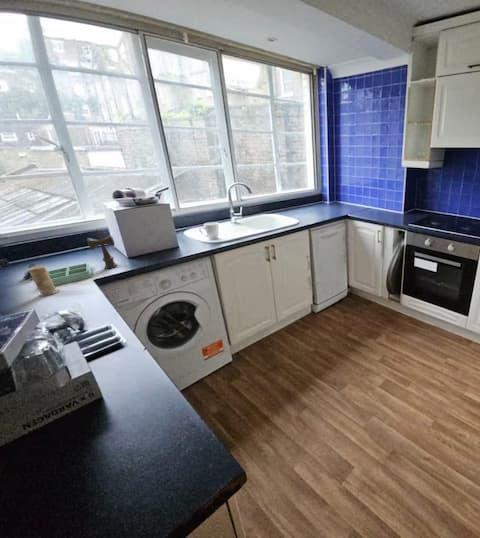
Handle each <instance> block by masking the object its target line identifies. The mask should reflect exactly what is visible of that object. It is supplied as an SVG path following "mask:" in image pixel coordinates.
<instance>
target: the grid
mask: <svg viewBox="0 0 480 538" xmlns="http://www.w3.org/2000/svg"><path fill="white" fill-rule="evenodd" d="M91 269H92V268H91V265H90V263H89V262H84V263H80V264H75V265H70V266H65V267H60V268H55V269H50V270H47V272H48V274H49V276H50V278H51V280H52V282H53V284H54V286H55V287H56V286H59V285H63V284H68V283H71V282H76V281H79V280H84V279H89V278H91V277H92V270H91Z"/></svg>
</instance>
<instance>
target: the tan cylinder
mask: <svg viewBox="0 0 480 538" xmlns="http://www.w3.org/2000/svg"><path fill="white" fill-rule="evenodd" d="M27 271H29V273H30V274H31V276H30V277H31V278H32V280H33V282H34V284H35V285H36V287H37V289H38V291H39V293H40V295H41V296H42V297H46V296H51V295H54V294H56V293H57V292H58V290H57V288H56V285H55V286H54V284H53V282H52V280H51V278H50V276H49V274H48V272H47V271H48V270H47V268H46V266H45V265H35V267H32V268H29V267H28V268H27Z"/></svg>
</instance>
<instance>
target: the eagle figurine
mask: <svg viewBox="0 0 480 538" xmlns="http://www.w3.org/2000/svg"><path fill="white" fill-rule="evenodd" d="M35 266H36V265H35V264H34V263H32V262H31V263H29V265H28V269H29V268H32V267H35ZM30 277H32V276H31V274H30V273H29V271H28V270H26V272H24V276H23V279H27V278H30Z"/></svg>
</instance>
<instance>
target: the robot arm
mask: <svg viewBox="0 0 480 538" xmlns="http://www.w3.org/2000/svg"><path fill="white" fill-rule="evenodd" d="M8 265H10V262H9V260H8V259H7V258H2V259H0V271H1V270H3V267H6V266H8Z"/></svg>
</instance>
